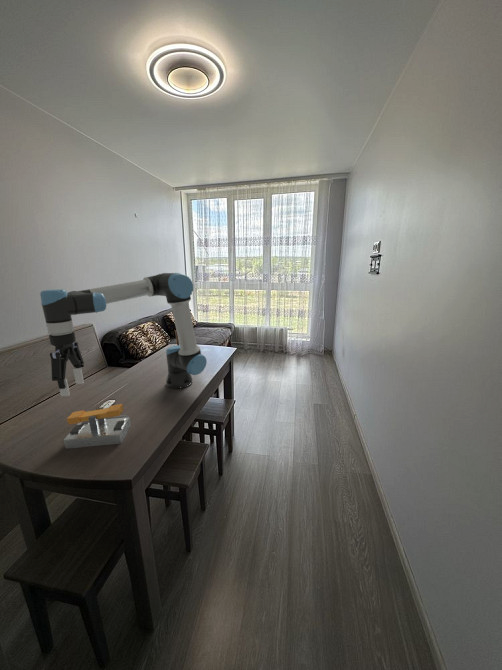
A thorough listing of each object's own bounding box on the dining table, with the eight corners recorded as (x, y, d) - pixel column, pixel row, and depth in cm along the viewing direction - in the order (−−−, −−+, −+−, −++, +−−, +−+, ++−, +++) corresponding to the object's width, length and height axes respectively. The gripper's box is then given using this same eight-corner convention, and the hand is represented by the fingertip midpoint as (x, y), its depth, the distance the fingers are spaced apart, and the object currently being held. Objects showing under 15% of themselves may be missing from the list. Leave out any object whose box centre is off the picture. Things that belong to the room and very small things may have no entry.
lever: (123, 409, 104) (122, 403, 104) (119, 415, 100) (118, 409, 99) (75, 417, 102) (73, 412, 102) (68, 424, 98) (66, 418, 97)
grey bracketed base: (130, 425, 110) (127, 402, 108) (121, 443, 99) (117, 418, 96) (81, 429, 108) (76, 406, 105) (65, 448, 96) (59, 423, 93)
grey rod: (127, 418, 116) (127, 414, 115) (126, 420, 114) (125, 416, 113) (92, 421, 114) (92, 417, 113) (90, 423, 112) (89, 419, 111)
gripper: (67, 326, 101) (77, 377, 107) (28, 341, 80) (43, 404, 86) (87, 325, 102) (96, 376, 108) (54, 340, 81) (67, 403, 87)
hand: (73, 389), depth 97 cm, fingers open, 10 cm apart
